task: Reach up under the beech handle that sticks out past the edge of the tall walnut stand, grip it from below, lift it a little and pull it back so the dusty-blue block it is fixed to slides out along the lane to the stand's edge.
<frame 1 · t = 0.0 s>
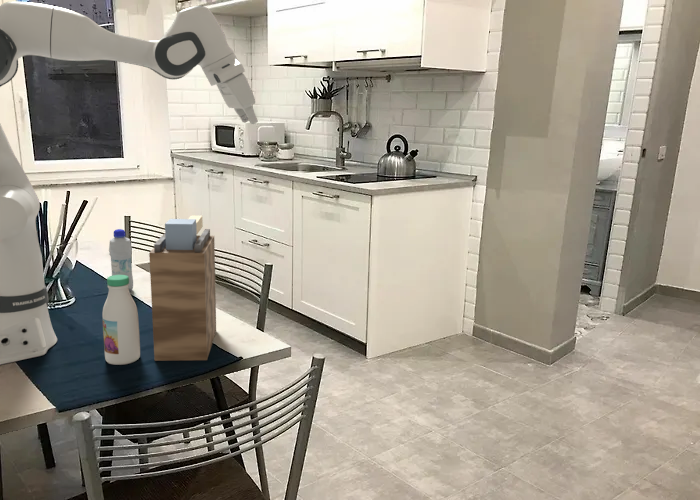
hand: (250, 122, 149), 54 cm above the table, tool tilted 30°, fingers open, 8 cm apart
walnut stand: (187, 344, 145), on the table
block with handle: (181, 246, 136), point 26 cm above the table, touching walnut stand
bottle: (123, 292, 183), on the table
milk bottle: (123, 359, 136), on the table
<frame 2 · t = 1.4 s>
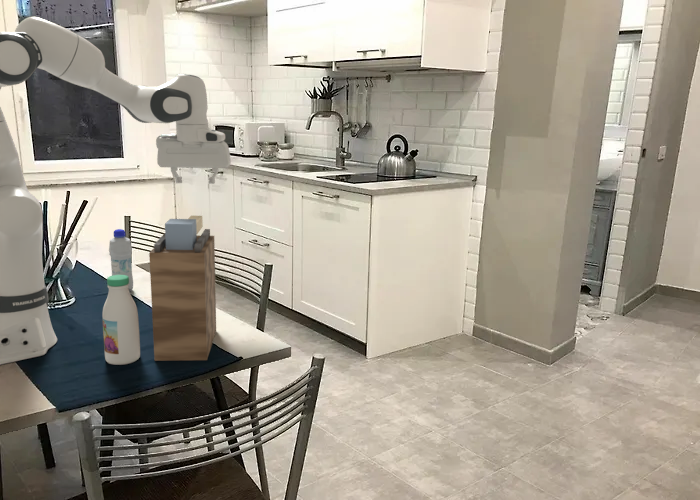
hand: (195, 183, 167), 36 cm above the table, tool pointing down, fingers open, 8 cm apart
nothing on the table moved.
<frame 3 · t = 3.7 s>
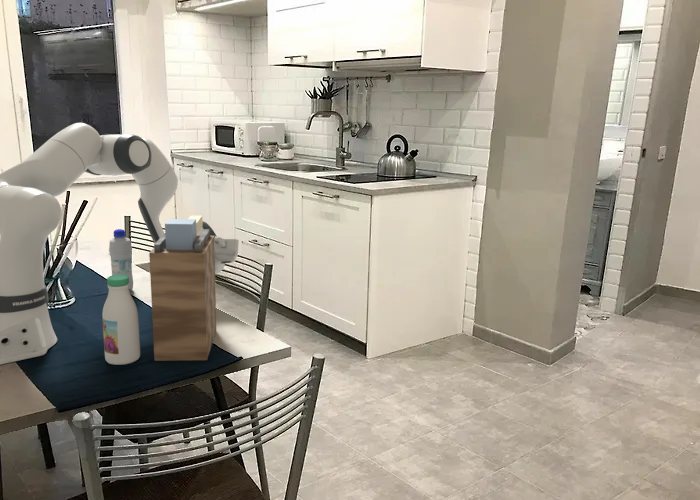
hand: (200, 239, 165), 21 cm above the table, tool pointing upward, fingers open, 8 cm apart
nothing on the table moved.
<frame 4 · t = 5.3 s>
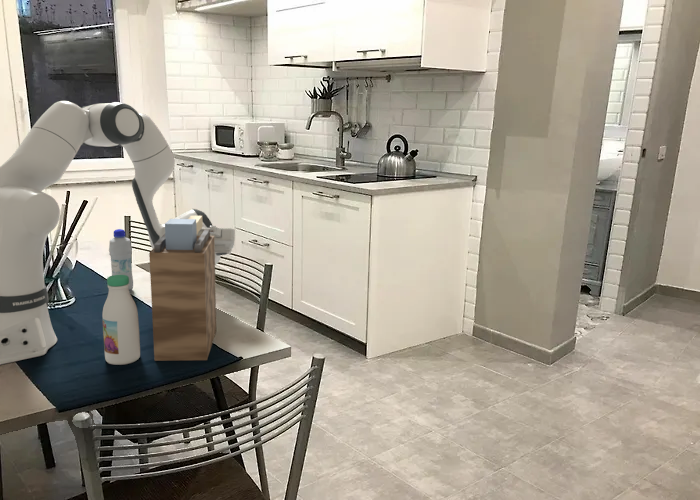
hand: (194, 227, 154), 26 cm above the table, tool pointing upward, fingers open, 8 cm apart
nothing on the table moved.
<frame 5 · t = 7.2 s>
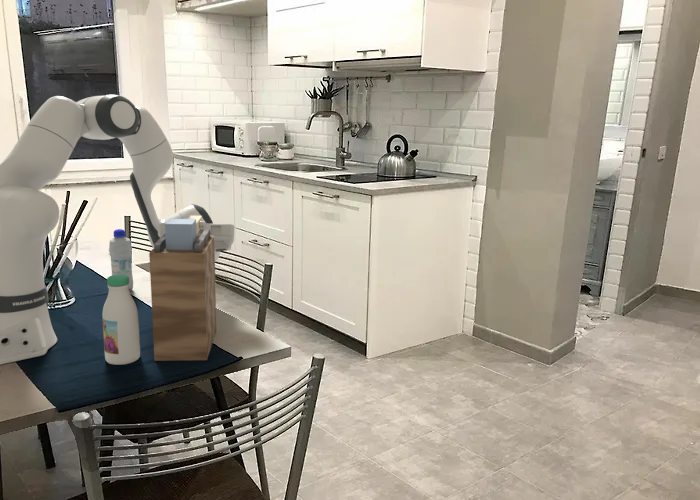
hand: (193, 223, 152), 28 cm above the table, tool pointing upward, fingers closed on block with handle, 3 cm apart
block with handle: (181, 246, 136), point 26 cm above the table, touching gripper, walnut stand
everything else where it was.
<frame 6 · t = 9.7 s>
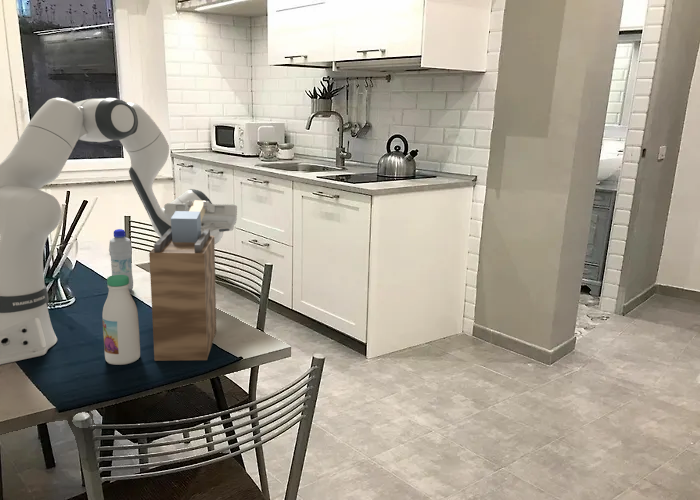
hand: (197, 203, 158), 32 cm above the table, tool pointing upward, fingers closed on block with handle, 3 cm apart
block with handle: (187, 238, 143), point 26 cm above the table, tilted 7°, touching gripper, walnut stand
everything else where it was.
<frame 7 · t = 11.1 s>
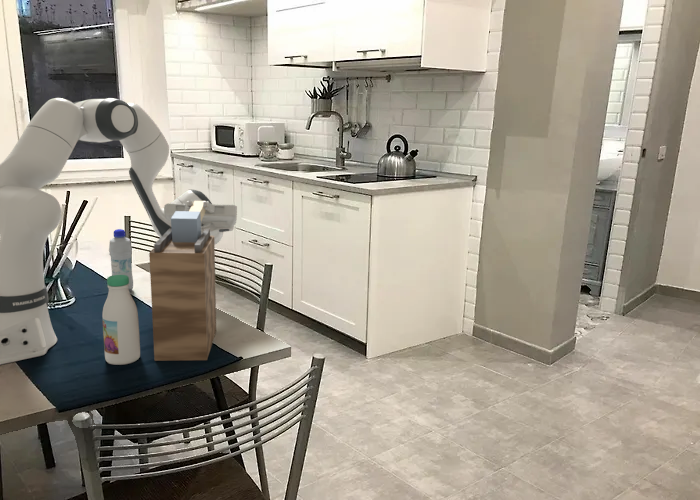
hand: (197, 203, 159), 32 cm above the table, tool pointing upward, fingers closed on block with handle, 3 cm apart
block with handle: (187, 238, 143), point 26 cm above the table, tilted 7°, touching gripper, walnut stand
everything else where it was.
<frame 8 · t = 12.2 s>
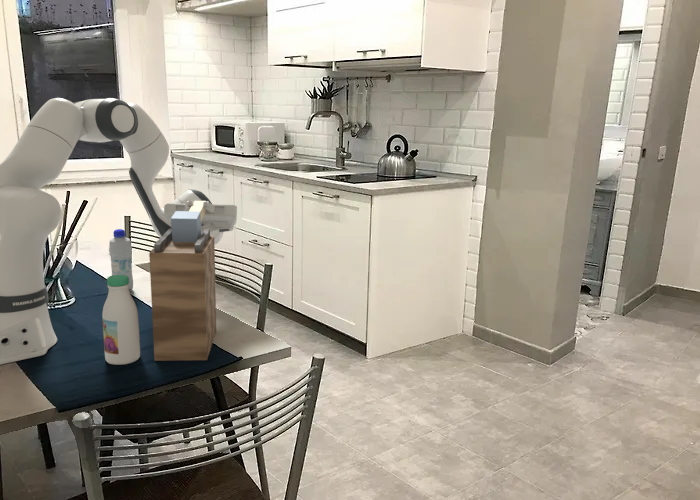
hand: (197, 203, 159), 32 cm above the table, tool pointing upward, fingers closed on block with handle, 3 cm apart
block with handle: (187, 238, 143), point 26 cm above the table, tilted 7°, touching gripper, walnut stand
everything else where it was.
at the end: the gripper is holding block with handle; block with handle moved 7.3 cm from its start; block with handle point 26.3 cm above the table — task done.
